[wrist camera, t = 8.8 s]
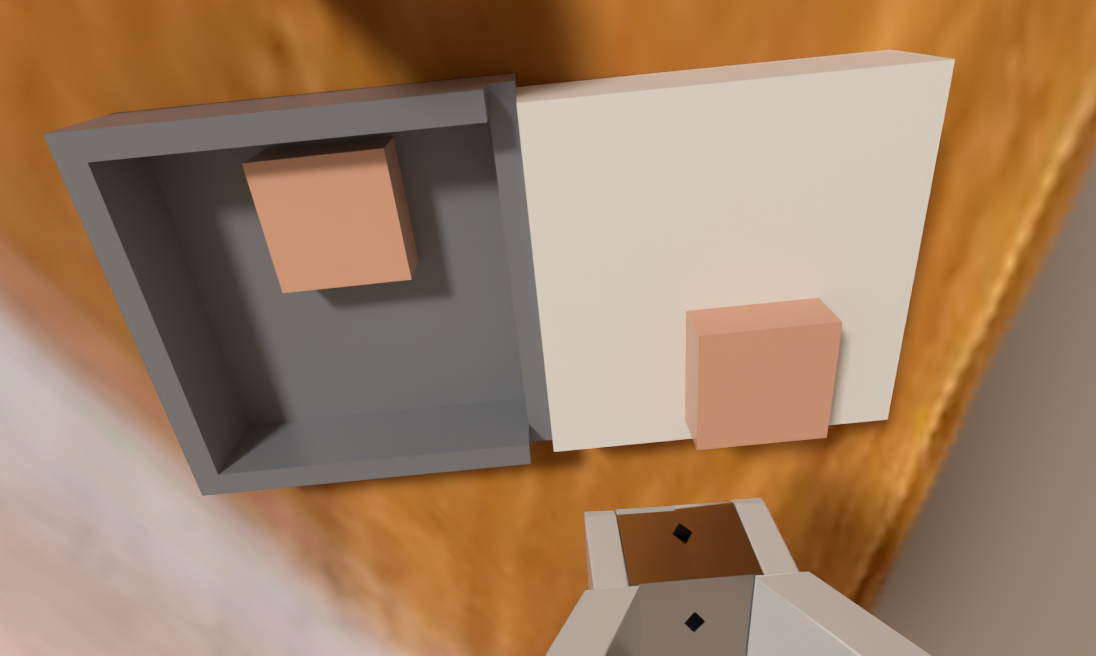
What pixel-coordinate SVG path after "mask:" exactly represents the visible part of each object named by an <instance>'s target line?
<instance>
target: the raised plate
mask: <svg viewBox="0 0 1096 656" xmlns="http://www.w3.org/2000/svg"><path fill="white" fill-rule="evenodd" d="M954 62H955V59H951V58H944V57H937V56H931V55H924V54H917V53H911V52H904V51H898V50H891V49H890V50H881V51H871V52H861V53H851V54H841V55H831V56H821V57H811V58H801V59H791V60H781V61H771V62H761V63H751V64H741V65H731V66H721V67H711V68H701V69H691V70H681V71H671V72H662V73H652V74H642V75H632V76H622V77H612V78H602V79H592V80H582V81H572V82H562V83H552V84H542V85H532V86H522V87H517V97H516V105H517V114H518V123H519V132H520V142H521V151H522V160H523V170H524V179H525V188H526V198H527V207H528V216H529V226H530V235H531V244H532V254H533V263H534V272H535V282H536V291H537V300H538V309H539V319H540V328H541V337H542V347H543V356H544V365H545V375H546V384H547V393H548V403H549V412H550V421H551V431H552V440H553V449H554V452H559V451H569V450H579V449H590V448H600V447H610V446H621V445H631V444H641V443H652V442H662V441H672V440H682V439H692V437H691V434H690V432H689V429H688V426H687V424H686V421H685V359H686V311H690V310H700V309H710V308H720V307H731V306H741V305H751V304H761V303H771V302H782V301H792V300H802V299H812V298H820V299H821V300H822V302H823V303H824V304H825V305H826V306H827V307H828V308H829V309H830V310H831V311H832V312H833V313H834V314H835V315H836V316H837V317H838V318H839V319H840V320H841V321H842V322H843V323H842V330H841V337H840V345H839V352H838V359H837V367H836V374H835V381H834V389H833V396H832V403H831V411H830V418H829V425H837V424H847V423H857V422H868V421H878V420H888V414H889V409H890V404H891V398H892V393H893V388H894V382H895V377H896V372H897V366H898V361H899V356H900V350H901V345H902V340H903V334H904V329H905V324H906V318H907V313H908V308H909V302H910V297H911V292H912V286H913V281H914V276H915V270H916V265H917V260H918V254H919V249H920V244H921V238H922V233H923V228H924V222H925V217H926V212H927V206H928V201H929V196H930V190H931V185H932V180H933V174H934V169H935V164H936V158H937V153H938V148H939V142H940V137H941V132H942V126H943V121H944V116H945V110H946V105H947V100H948V94H949V89H950V84H951V78H952V73H953V68H954Z"/></svg>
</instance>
